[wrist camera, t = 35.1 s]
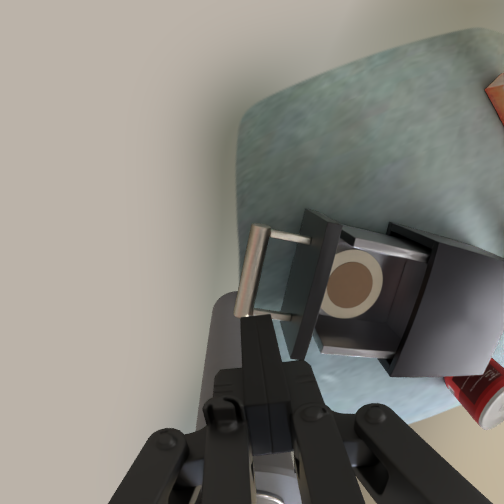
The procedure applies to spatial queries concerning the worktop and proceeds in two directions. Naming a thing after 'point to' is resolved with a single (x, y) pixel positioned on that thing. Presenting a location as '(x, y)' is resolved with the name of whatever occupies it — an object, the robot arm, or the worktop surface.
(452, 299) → the box
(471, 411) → the canned food
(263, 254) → the black pull-out drawer
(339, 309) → the cream cylinder brown top
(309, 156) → the worktop surface
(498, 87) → the cracker box
